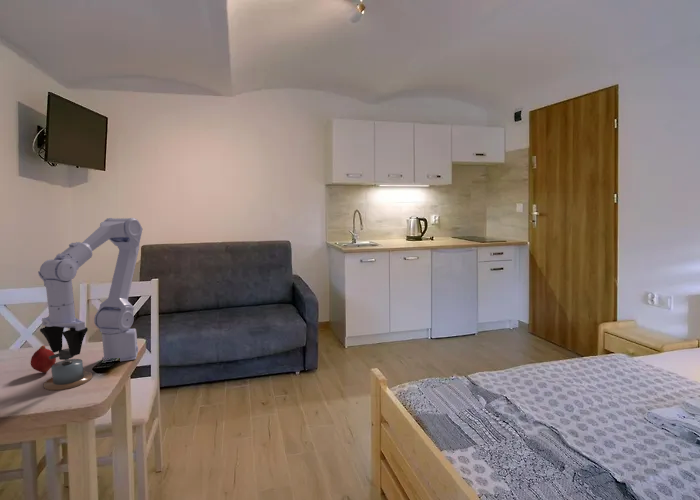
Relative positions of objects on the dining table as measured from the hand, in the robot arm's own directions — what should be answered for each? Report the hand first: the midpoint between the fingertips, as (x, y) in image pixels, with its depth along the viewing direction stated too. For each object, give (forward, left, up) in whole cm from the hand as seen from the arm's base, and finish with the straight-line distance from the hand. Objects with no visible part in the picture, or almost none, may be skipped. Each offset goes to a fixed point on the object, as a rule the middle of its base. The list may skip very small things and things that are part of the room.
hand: (66, 353), depth 113 cm
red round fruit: (+8, -10, -8) cm, 15 cm away
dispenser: (0, 0, -8) cm, 8 cm away
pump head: (+1, +1, -2) cm, 3 cm away
